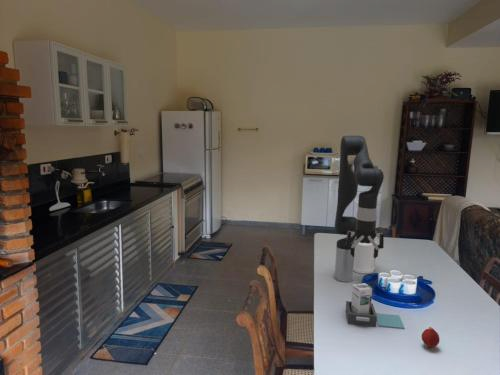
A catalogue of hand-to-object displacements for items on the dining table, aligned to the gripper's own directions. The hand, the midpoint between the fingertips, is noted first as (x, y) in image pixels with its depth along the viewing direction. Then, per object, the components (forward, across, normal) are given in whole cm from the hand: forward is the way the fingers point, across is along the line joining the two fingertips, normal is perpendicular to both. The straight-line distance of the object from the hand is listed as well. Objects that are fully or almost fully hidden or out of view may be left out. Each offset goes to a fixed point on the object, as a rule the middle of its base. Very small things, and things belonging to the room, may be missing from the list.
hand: (363, 257), depth 150 cm
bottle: (+26, -8, -55) cm, 61 cm away
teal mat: (+26, -12, 0) cm, 29 cm away
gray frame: (+26, 0, 0) cm, 27 cm away
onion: (+27, -23, +16) cm, 39 cm away
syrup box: (+27, 0, 0) cm, 27 cm away
